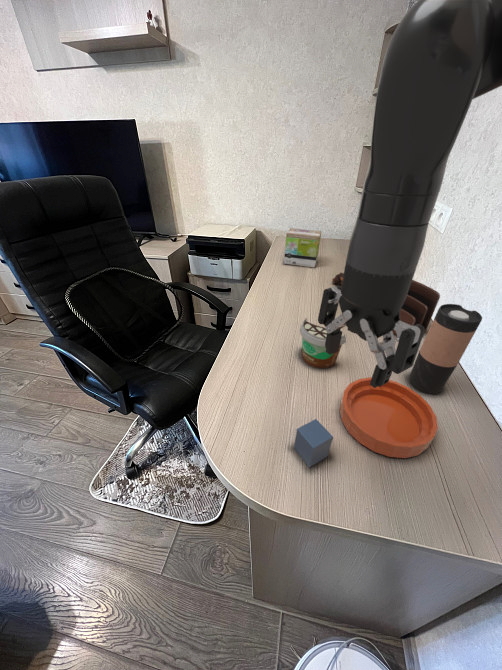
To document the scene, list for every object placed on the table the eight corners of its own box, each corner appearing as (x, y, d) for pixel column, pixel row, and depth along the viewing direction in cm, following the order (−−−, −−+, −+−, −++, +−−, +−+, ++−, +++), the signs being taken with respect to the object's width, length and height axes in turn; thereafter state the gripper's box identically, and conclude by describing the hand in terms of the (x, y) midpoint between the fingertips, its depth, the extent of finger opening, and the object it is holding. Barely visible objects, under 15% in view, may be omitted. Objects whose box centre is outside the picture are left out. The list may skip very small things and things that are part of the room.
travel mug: (412, 393, 65) (447, 320, 53) (403, 371, 71) (433, 302, 60) (448, 397, 64) (491, 324, 52) (435, 374, 70) (471, 305, 59)
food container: (287, 357, 76) (290, 326, 70) (300, 347, 79) (304, 317, 74) (327, 378, 69) (334, 346, 63) (339, 366, 72) (347, 335, 67)
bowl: (448, 433, 56) (456, 420, 54) (391, 476, 49) (398, 464, 46) (376, 380, 68) (380, 367, 66) (322, 408, 61) (325, 395, 59)
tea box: (283, 264, 133) (285, 232, 124) (287, 257, 140) (289, 227, 132) (315, 268, 129) (319, 235, 121) (317, 261, 137) (321, 230, 128)
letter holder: (373, 305, 100) (384, 268, 92) (426, 332, 86) (444, 290, 78) (353, 312, 95) (363, 274, 87) (406, 341, 82) (423, 299, 73)
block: (327, 456, 52) (333, 436, 48) (309, 468, 50) (313, 448, 46) (311, 438, 55) (316, 418, 51) (293, 448, 53) (296, 428, 50)
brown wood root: (330, 290, 111) (379, 295, 106) (332, 279, 108) (382, 284, 103) (332, 280, 118) (377, 284, 113) (333, 270, 115) (380, 274, 111)
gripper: (463, 274, 28) (412, 387, 38) (355, 240, 39) (335, 336, 48) (419, 290, 25) (375, 409, 34) (314, 249, 35) (301, 350, 45)
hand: (352, 367), depth 41 cm, fingers open, 8 cm apart
